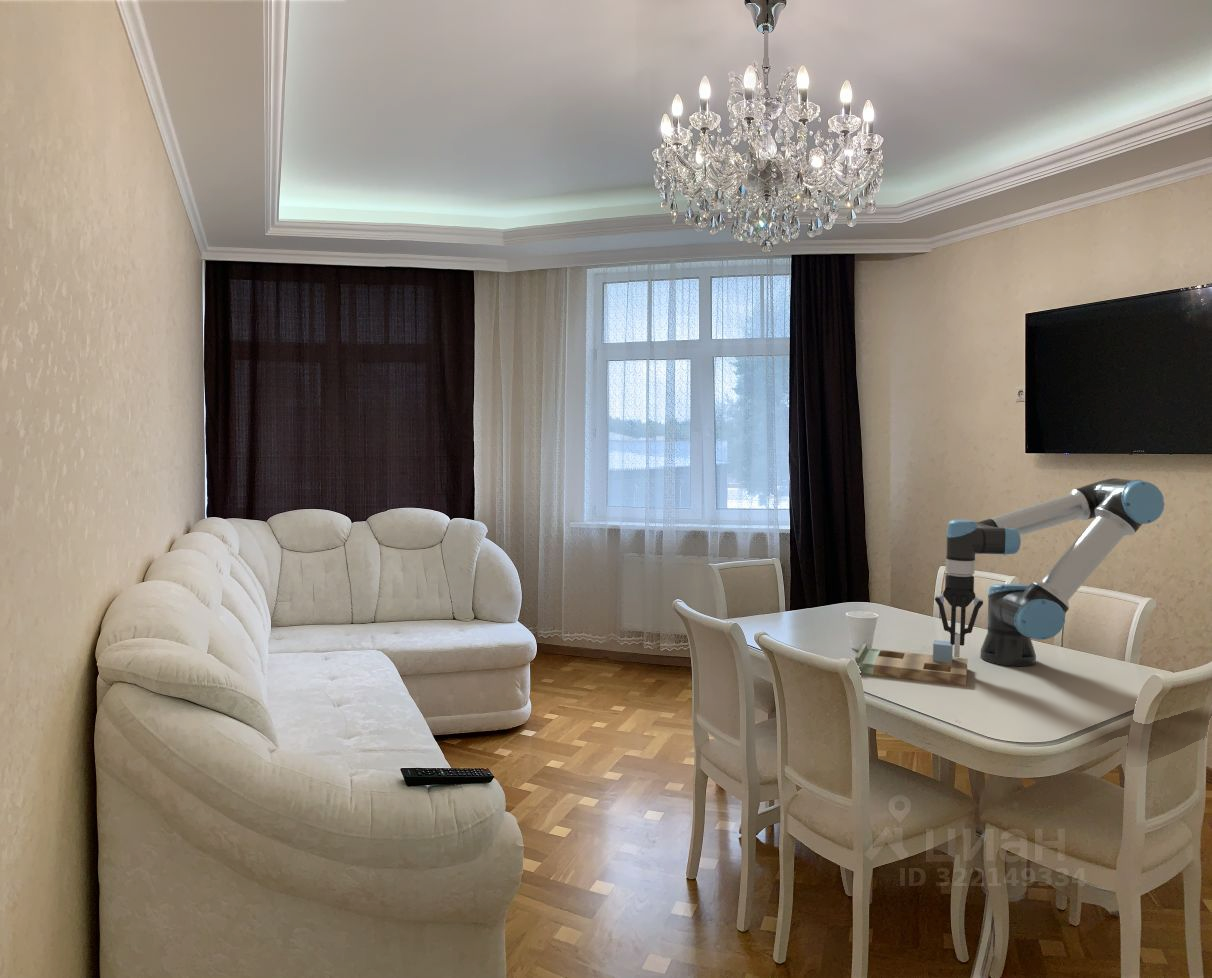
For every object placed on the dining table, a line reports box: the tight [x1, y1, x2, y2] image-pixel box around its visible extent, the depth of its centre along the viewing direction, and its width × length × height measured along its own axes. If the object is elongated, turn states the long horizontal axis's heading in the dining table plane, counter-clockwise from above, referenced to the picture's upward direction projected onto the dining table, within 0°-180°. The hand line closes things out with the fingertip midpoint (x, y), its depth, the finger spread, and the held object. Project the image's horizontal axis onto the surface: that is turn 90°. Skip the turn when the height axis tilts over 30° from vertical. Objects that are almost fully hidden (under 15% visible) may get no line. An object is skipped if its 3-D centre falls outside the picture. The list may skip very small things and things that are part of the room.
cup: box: [845, 610, 879, 651], centre depth 262 cm, size 10×10×11 cm
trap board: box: [854, 643, 968, 687], centre depth 237 cm, size 29×18×4 cm, turn 66°
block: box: [932, 639, 954, 663], centre depth 238 cm, size 5×5×5 cm
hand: (956, 656), depth 236 cm, fingers closed
